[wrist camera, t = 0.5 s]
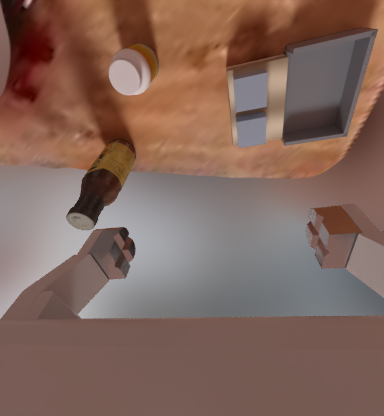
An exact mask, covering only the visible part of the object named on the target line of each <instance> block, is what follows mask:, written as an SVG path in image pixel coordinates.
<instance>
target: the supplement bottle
mask: <svg viewBox="0 0 384 416" xmlns="http://www.w3.org/2000/svg"><path fill="white" fill-rule="evenodd" d="M158 69H159V64H158V60H157V57H156V55H155V53H154V52H153V50H152V49H151V48H149V47H148V46H147V45H144V44H140V43H137V44H133V45H131V46H129V47H127V48H124V49H122V50H120V51H118V52H117V53H116V54H115V55H114V56H113V58H112V61H111V66H110V68H109V79H110V82H111V84H112V86H113V87H114V88H115V89H116V90H117V91H118V92H119V93H121V94H124V95H138V94H141V93H142V92H144V91H145V90H146V89H147V88H148V87H149V85H150V84H151V83H152V82H153V81H154V79H155V78H156V76H157V74H158Z"/></svg>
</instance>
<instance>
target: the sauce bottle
mask: <svg viewBox="0 0 384 416" xmlns="http://www.w3.org/2000/svg"><path fill="white" fill-rule="evenodd" d="M135 159H136V154H135V151H134V148H133V147H132V146H131V145H130V144H129V143H128V142H126V141H124V140H113V141H112V142H110V143H109V144H108V145H107V146H106V147H105V148H104V150H103V151H102V152H101V154H100V155H99V157H98V158H97V159H96V161H95V162H94V163H93V164H92V166H91V168H90V169H89V170H88V172H87V173H86V174H85V176H84V177H83V179H82V185H81V194H80V197H79V200H78V201H77V203H76V204H75V206H74V207H72V208H71V209H70V210H69V212H68V214H67V216H66V218H67V221H68V222H69V223H70V224H71V225H72V226H74V227H75V228H77V229H81V230H91V229H93V228H94V226H95V225H96V223H97V221H98V216H99V215H100V213H101V211H102V210H103V208H104V206H107V205H110V204H111V203H112V202H114V201H115V199H116V198H117V196H118V193H119V192H120V191H121V189H122V187H123V185H124V182H125V180H126V179H127V176H128V174H129V172H130V170H131V168H132V166H133V164H134V161H135Z"/></svg>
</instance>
